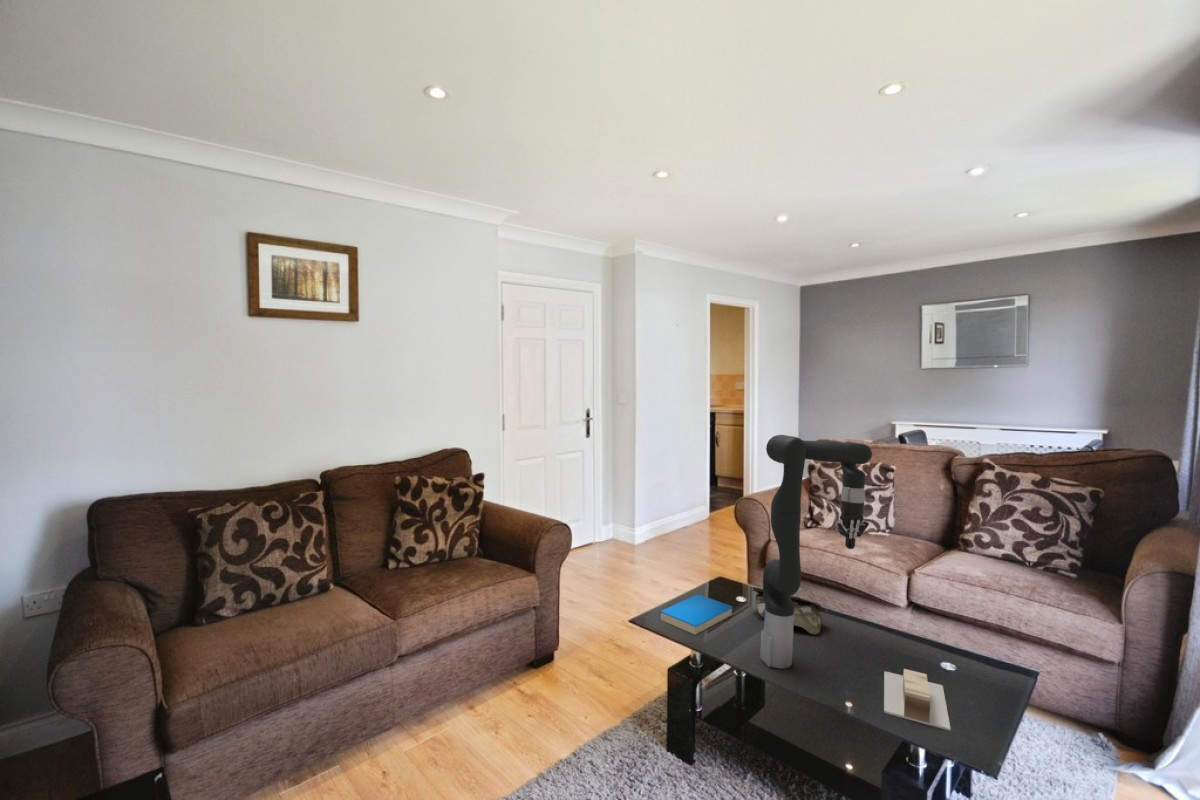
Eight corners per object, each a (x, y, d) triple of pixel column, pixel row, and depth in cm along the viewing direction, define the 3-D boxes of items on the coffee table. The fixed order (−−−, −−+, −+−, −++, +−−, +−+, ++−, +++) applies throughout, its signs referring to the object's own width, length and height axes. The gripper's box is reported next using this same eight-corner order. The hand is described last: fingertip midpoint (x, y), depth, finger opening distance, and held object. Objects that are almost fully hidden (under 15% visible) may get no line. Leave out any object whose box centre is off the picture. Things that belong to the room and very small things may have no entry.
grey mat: (950, 730, 149) (950, 728, 149) (884, 712, 156) (884, 710, 156) (942, 687, 170) (942, 685, 170) (884, 672, 177) (884, 671, 177)
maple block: (925, 693, 165) (929, 723, 151) (902, 687, 168) (904, 716, 154) (926, 674, 165) (930, 701, 151) (903, 668, 168) (905, 695, 153)
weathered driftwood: (750, 624, 220) (739, 605, 212) (760, 595, 227) (750, 576, 218) (822, 646, 202) (813, 626, 194) (831, 614, 209) (822, 593, 201)
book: (733, 606, 217) (696, 625, 199) (732, 617, 217) (696, 636, 199) (696, 593, 229) (659, 609, 211) (696, 603, 229) (658, 620, 211)
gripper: (842, 502, 187) (840, 552, 188) (876, 501, 190) (873, 551, 191) (829, 497, 194) (826, 545, 195) (861, 496, 197) (859, 544, 198)
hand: (850, 548), depth 193 cm, fingers closed
